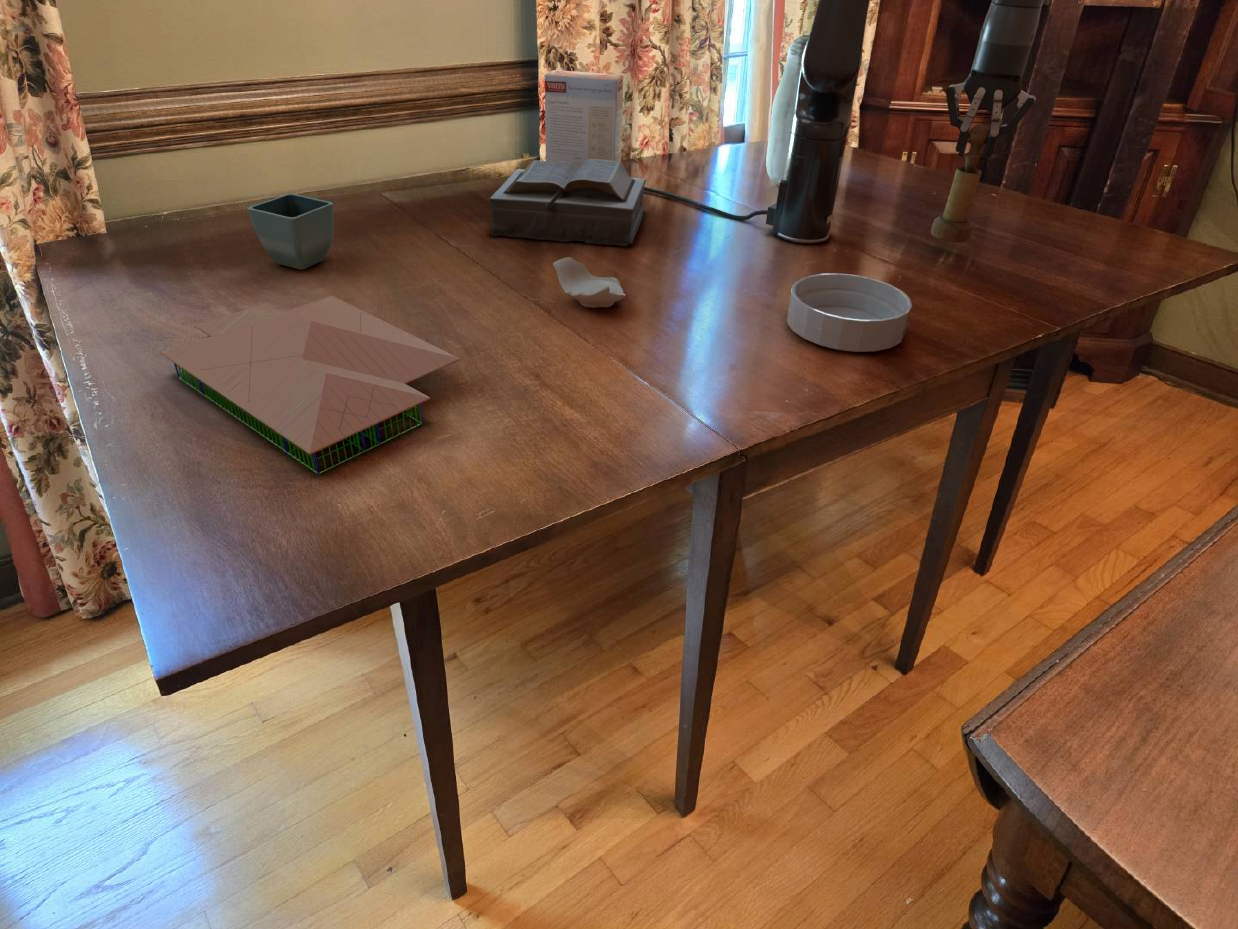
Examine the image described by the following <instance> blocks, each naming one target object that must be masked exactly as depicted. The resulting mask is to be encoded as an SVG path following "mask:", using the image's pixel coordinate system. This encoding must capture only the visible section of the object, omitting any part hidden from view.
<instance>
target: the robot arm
mask: <svg viewBox="0 0 1238 929" xmlns="http://www.w3.org/2000/svg"><path fill="white" fill-rule="evenodd" d="M870 1H871V0H818V3H817V6H816V10H815V13H814V17H813V21H812V25H811V28H810V31H809V34H808V35H809V37H808V40H807V43H806V45H805V48H804V50H803V53H802V58H801V71H800V78H799V85H798V91H797V98H796V103H795V108H794V114H793V120H792V127H791V134H790V141H789V148H788V154H787V161H786V168H785V174H784V178H782V179H781V180H780V183H779V185H778V190H777V196H776V197H777V198H776V203H773V204H771V205H769V206H768V207H767V209H761V210H755V211H752V212H750V213H749V214H745V215H736V214H733V213H729V212H726V211H723V210H721V209H718V208H715V207H712V206H709V205H706V204H703V203H700V202H698V201H695V200H693V199H691V198H687V197H684V196H682V195H678V194H675V193H671V192H669V191H665V190H661V189H656V188H653V187H648V186H644V192H649V193H652V194H657V195H660V196H664V197H668V198H671V199H675V200H677V201H681V202H684V203H687V204H690V205H692V206H695V207H697V208H699V209H702V210H704V211H708V212H711V213H713V214H716V215H719V216H722V217H725V218H728V219H732V220H737V221H748V220H750V219H752V218H754V217H756V216H762V215H763V216H764V215H766V217H765V225H769V226H772V231H771V236H777V237H778V238H780V239H783V240H785V241H788V242H791V243H796V244H805V245H814V244H821V243H824V242H826V241H828V240H829V238H830V230H831V224H832V221H834V219H835V213H834V210H835V205H836V204H835V203H836V199H837V198H836V197H837V193H838V187H839V182H840V176H841V172H842V171H841V170H842V166H843V160H844V155H845V150H846V144H847V139H848V134H849V129H850V125H851V118H852V114H853V113H852V112H853V106H854V99H855V96H856V89H857V83H858V79H859V74H860V70H861V66H862V62H863V49H864V48H863V47H864V38H865V32H866V25H867V19H868V12H869V7H870ZM1044 2H1045V0H991V2H990V4H989V5H990V6H989V7H988V10H987V12H986V15H985V18H984V22H983V24H982V27H981V30H980V34H979V40H978V44H977V46H976V51H975V55H974V58H973V62H972V66H971V69H970V72H969V75H968V76H967V77H966V79H965V80H964V82H961V83H957V84H950V85H949V86H948V87H947V88H946V89H945V97H946V104H947V112H948V118H949V124H950V126H952V127H955V128H957V129H958V130H959V134H958V138H957V141H956V146H955V152H956V153H958V155H957V157H962V158H963V157H964V155H965V154H966V150H967V146H968V143H969V133H970V130H971V126H972V124H973V122H974V121H975V118H976V116H977V114H978V112H981V111H985V112H988V113H991V123H990V131H989V136H988V138H987V141H986V142H985V144H984V149H983V152H982V155H981V158H980V159H981V161H985V162H986V161H987V159H988V158H991V157H992V155H994V152H995V150H996V146H997V143H998V139H999V137H1000V136H1003V135H1010V134H1012V132H1013V130H1015V128H1016V127H1017V126H1018V124H1019V123H1020V122H1021V121H1022V119H1023V118H1024V117H1025V116H1026V114H1027V113H1028V112H1029V111H1030V110H1031V108H1032V107H1033V106H1034V104H1035V102H1036V100H1037V96H1035V95H1033V94H1032V95H1030V94H1029V93H1027V92H1026V91H1024V90H1023V82H1022V81H1023V76H1024V72H1025V70H1026V67H1027V64H1028V59H1029V56H1030V53H1031V49H1032V47H1033V43H1034V40H1035V37H1036V33H1037V30H1038V26H1039V23H1040V16H1041V11H1042V7H1043V4H1044ZM963 91H965V94H966V97H967V100H968V103H969V104H970V106H969V108H968V110H967V111H966V114H965V117H964V118H963V117H961V112H960V105H959V99H961V97H962V94H963ZM1016 98H1018V101H1017V104H1016V106H1017V108H1018V110H1017V111H1016V112H1015V114H1014V115H1013V116H1012V117H1011V118H1010V120H1009V121H1008V122H1007V124H1002V121H1003V115H1004V109H1005V108H1006V107H1008V105H1009V104H1011V103H1012V102H1013V101H1014V100H1015V99H1016Z"/></svg>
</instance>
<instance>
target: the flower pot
mask: <svg viewBox="0 0 1238 929" xmlns="http://www.w3.org/2000/svg"><path fill="white" fill-rule="evenodd" d="M247 211H248V214H249V217H250V219H251V222H252V225H253V228H254V231H255V233H256V236H257V239H258V241H259V243H260V244H261V246H262V248H263V249H264V251H265V252H266V253H267V255H268V256H269V257H270V258H271V259H272V260H273V261H274V262H275V263H276V264H278V265H282V266H285V267H288V268H292V269H296V270H301V271H302V270H306V269H308V268H310V267H312V266H314V265H316V264H319V263H321V262H323V261H324V260H325V259H326V258H327V255H328V253H329V252H330V249H331V247H332V244H333V243H332V242H333V238H334V203H333V202H332V201H328V200H324V199H318V198H314V197H309V196H305V195H300V194H296V193H285V194H283V195H280V196H277V197H274V198H272V199H269V200H266V201H263V202H260V203H256V204H254V205H252V206H249V207H247Z"/></svg>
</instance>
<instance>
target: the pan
mask: <svg viewBox="0 0 1238 929" xmlns="http://www.w3.org/2000/svg"><path fill="white" fill-rule="evenodd" d="M912 309H913V304H912V300H911V297H910V296H908V295H907V294H906V293H905V291H903V290H901V289H899V287H896V286H894V285H892V284H891V283H888V282H885V281H882V280H879V279H876V278H873V277H868V276H864V275H859V274H852V273H851V274H849V273H840V272H839V273H838V272H834V273H827V272H826V273H817V274H812V275H811V274H810V275H807V276H804V277H802V278H799V279H797V280H796V281H795V282H794V284H792V286H791V290H790V296H789V302H788V307H787V314H786V323H787V325H788V327H789V328H790V329H791V331H793V332H794V333H795V334H797V335H798V336H799V337H801V338H803V339H804V340H806V341H809V342H811V343H814V344H816V345H819V346H821V347H825V348H829V349H832V350H837V351H842V352H843V351H844V352H852V353H853V352H854V353H855V352H856V353H863V352H879V351H884V350H888V349H891V348H894V347H895V346H897V345H899V344H900V343H902V341H903V339H904V337H905V336H906V332H907V328H908V325H909V320H910V316H911V312H912Z"/></svg>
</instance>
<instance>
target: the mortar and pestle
mask: <svg viewBox="0 0 1238 929" xmlns="http://www.w3.org/2000/svg"><path fill="white" fill-rule="evenodd" d="M969 131H970V133H969V139H968V141H969V144H970V148H969V151H968V152H966V153H965V158H964V159H965V163H964V164H965V165H964V166H963V165H961V166H957V167H956V170H955V174H954V177H953V180H952V184H951V187H950V191H949V193H948V194H949V195H948V198H947V201H946V204H945V207H944V211H943V213H942V214H940V215H939V216H937V217H935V218H934V219H933V221H932V225H931V229H930V234H931V235H932V236H933V237H934V238H936V239H939V240H941V241H946V242H951V243H965V242H969V240H970V239H971V236H972V232H973V230H974V229H973V228H974V225H973V224H972V222H971V220H970V219H969V218H968V217H969V216H970V212H971V208H972V205H973V201H974V198H975V195H976V192H977V188H978V186H979V182H980V179H981V177H982V174H983V171H982V170H981V169H978V168H976V167H977V165H978V163H979V161H980V159H981V158H982V155H981V154H980V150H981V148H982V146H984V145H985V144H986V142H987V138H988V136H989V134H990V128H989V127H988V126H987V125H985V124H976V125H974V126H973V127H972V128H970V130H969Z"/></svg>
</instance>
